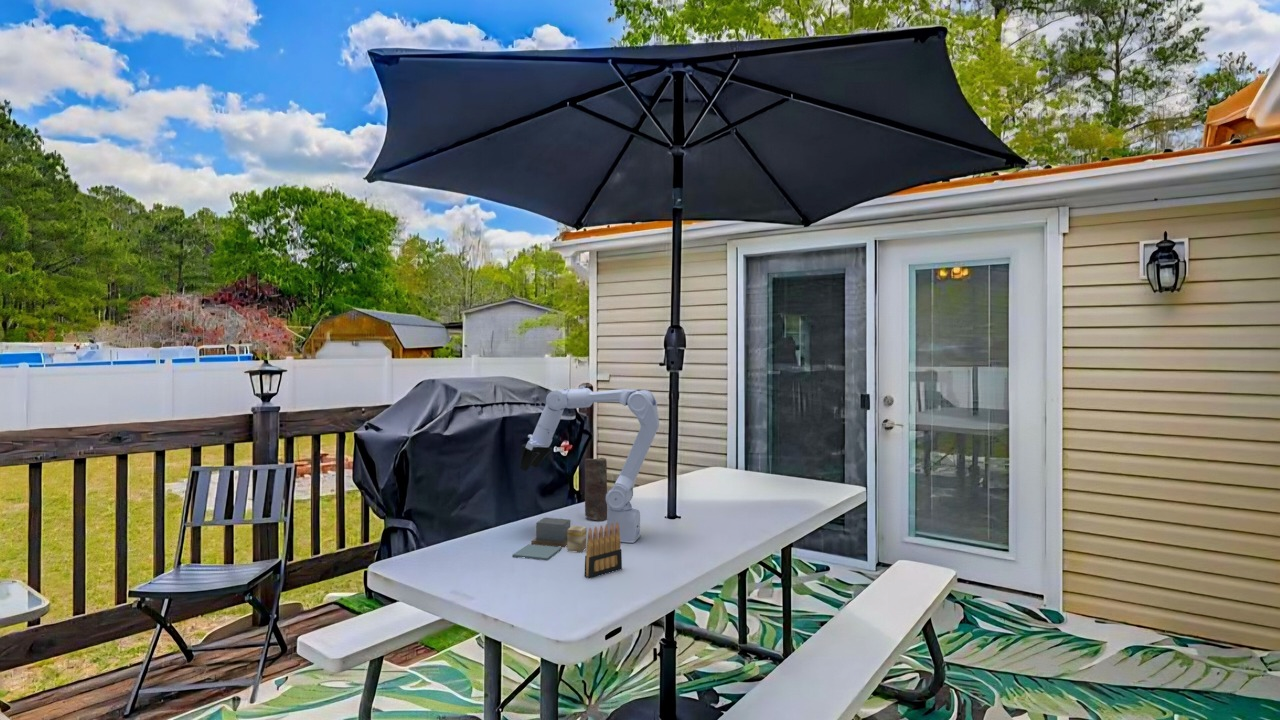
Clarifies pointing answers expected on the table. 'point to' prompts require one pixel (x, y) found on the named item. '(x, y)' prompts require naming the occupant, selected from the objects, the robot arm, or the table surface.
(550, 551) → the mat
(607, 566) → the ammunition clip
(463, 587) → the table surface
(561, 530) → the mounted unit
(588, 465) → the candle
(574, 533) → the block
